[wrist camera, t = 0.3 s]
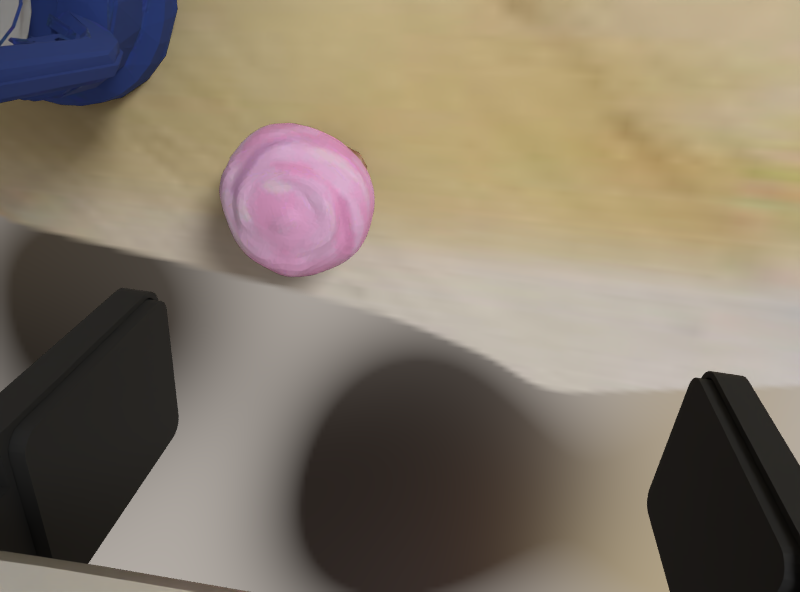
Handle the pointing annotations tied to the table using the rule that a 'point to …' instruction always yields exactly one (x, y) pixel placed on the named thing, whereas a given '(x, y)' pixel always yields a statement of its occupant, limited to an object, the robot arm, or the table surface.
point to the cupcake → (297, 199)
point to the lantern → (81, 48)
